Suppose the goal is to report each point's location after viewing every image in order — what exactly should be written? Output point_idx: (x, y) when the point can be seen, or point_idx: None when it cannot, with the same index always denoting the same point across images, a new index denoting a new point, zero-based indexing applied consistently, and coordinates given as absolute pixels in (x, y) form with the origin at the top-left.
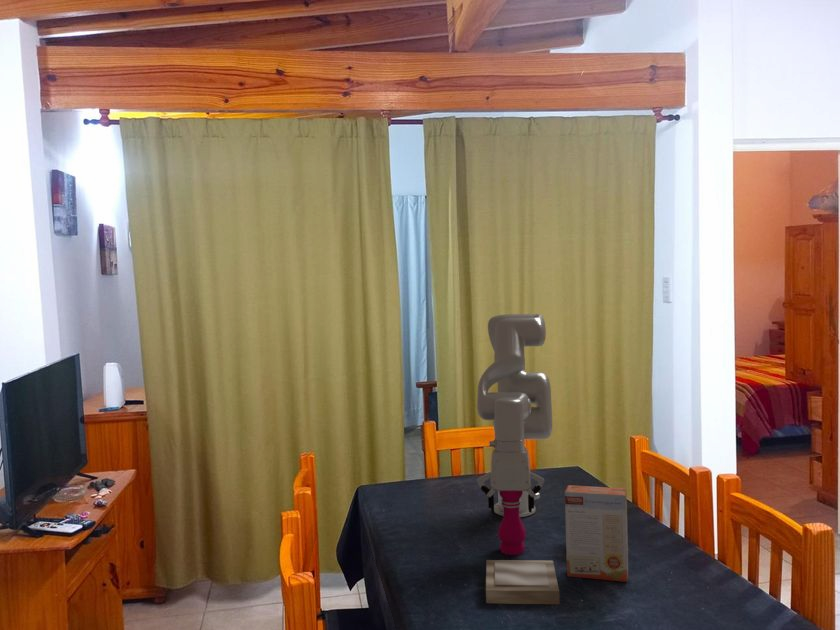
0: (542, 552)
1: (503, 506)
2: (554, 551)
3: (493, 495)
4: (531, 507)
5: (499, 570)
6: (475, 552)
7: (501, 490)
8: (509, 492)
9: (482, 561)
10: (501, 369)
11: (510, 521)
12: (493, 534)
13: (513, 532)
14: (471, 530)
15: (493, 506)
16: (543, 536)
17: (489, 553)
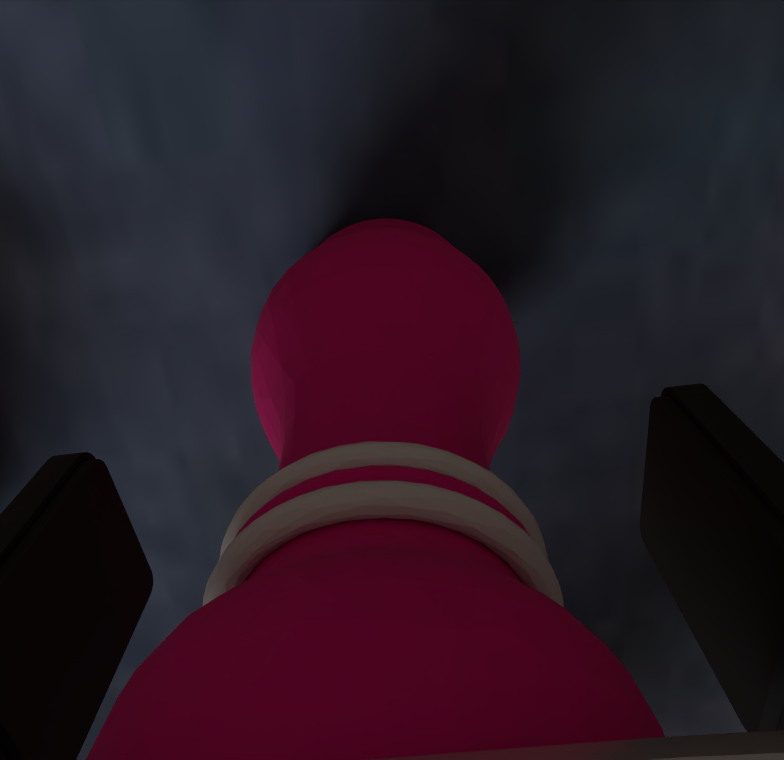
0: (157, 305)
1: (510, 489)
2: (76, 334)
3: (772, 695)
4: (15, 501)
5: None
6: (675, 233)
7: (724, 748)
8: (383, 707)
9: (624, 45)
10: None
11: (387, 349)
12: None
13: (352, 267)
14: None
15: (704, 444)
16: (211, 550)
17: (562, 229)
